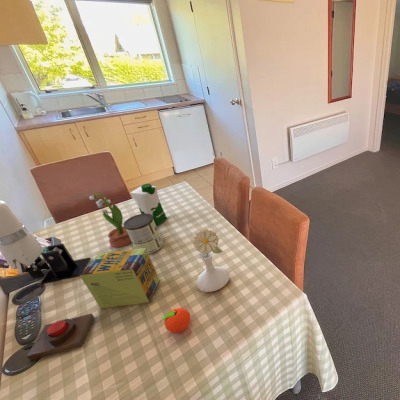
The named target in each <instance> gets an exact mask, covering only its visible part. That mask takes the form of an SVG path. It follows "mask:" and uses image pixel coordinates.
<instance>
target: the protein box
mask: <svg viewBox="0 0 400 400" xmlns="http://www.w3.org/2000/svg"><path fill="white" fill-rule="evenodd" d="M79 277H80V279H81V280H82V282H83V283H84V285H85V286H86V288H87V289H88V291H89V293H90V294H91V296H92V297H93V299H94V300H95V303H96V304H97V305H98V307H99V308H100V309H108V308H115V307H123V306H130V305H138V304H147V303H150V302H151V299H152V297H153V296H154V293H155V291H156V289H157V287H158V285H159V283H160V280H161V279H160V277H159V274H158V273H157V270H156V268H155V266H154V263H153V262H152V259H151V257H150V254H148V252H147V250H146V248H141V249H135V248H134V249H123V250H116V251H107V252H99V253H97V254H96V255H95V257H94V258H93V259H92V260H91V262H89V263H88V264H87V266H86V268H85V269H84V271H83V272H82V274H81V275H80V276H79Z"/></svg>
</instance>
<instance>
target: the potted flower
mask: <svg viewBox="0 0 400 400" xmlns="http://www.w3.org/2000/svg"><path fill="white" fill-rule="evenodd" d="M96 196H98V200H97V197H96ZM100 198H101V199H100ZM91 200H92V201H93V200H95V204H96V205H97V208H98V209H101V208H102V211H101V213H102V216H103V217H104V219H105V220H106V221H107V222H108V223H109V224H111V225H112V226H113V227H114V229H111V231H110V232H109V233H107V237H108V240H109V245H110V246H111V247H113V248H122V247H127V246H129V245H131V244H133V243H132V241H131V239H130V237H129V235H128V233H127V231H126V229H125V227H124V225H123V221H124V218H123V213H122V210H121V209H120V207H118V206H117V205H116V204H115V203H113V204H111V203H112V201H111V199H110V198H109V199H108V198H107V197H104V196H103V195H102V194H101V193H100V192H99V191H98V192H97V193H95V194H93V195H90V196H89V201H91ZM104 203H106V204H104ZM103 204H104V205H103ZM110 204H111V205H110ZM104 207H108V208H109V210H110V211H108V210H107V209H104ZM109 214H111V216H110V215H109Z"/></svg>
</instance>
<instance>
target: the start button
mask: <svg viewBox="0 0 400 400" xmlns="http://www.w3.org/2000/svg"><path fill="white" fill-rule="evenodd" d="M52 323H53V324H52V325H51V326H50V327H49V328H48V329H47V332H48V334H49V335H50V336H52V337H55V336H58V335H60V334H62V333H63V332H64V331H65V330H66V329H67V328H68V325H67V324H66V322H65V321H60V320H57V321H55V322H52Z"/></svg>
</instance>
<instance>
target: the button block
mask: <svg viewBox="0 0 400 400" xmlns="http://www.w3.org/2000/svg"><path fill="white" fill-rule="evenodd" d="M95 319H96V317H95V316H94V313H88V314H85V315H80V316H76V317H71V318H65V319H61V320H59V321H65V322H66V324H67V325H68V328H67V329H66V330H65V331H64V332H63V333H62V334H60V335H58V336H55V337H52V336H50V335H49V334H48V332H47V329H48V328H49V327H50V326H51V325H52V324H53V323H54V322H52V323H47V324H45V325H44V326H43V328H42V330H41V331H40V333H39V335H38V337H37V338H36V340H35V342H34V343H33V345H32V346H31V348H30V350H29V352H28V353H27V355H26V357H27V358H28V360H30V361H35V360H38V359H42V358H45V357H50V356H53V355H56V354H60V353H64V352H67V351H71V350H75V349H78V348H82V347H83V346H84V344H85V342H86V340H87V337H88V334H89V333H90V330H91V328H92V325H93V323H94V321H95Z"/></svg>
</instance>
